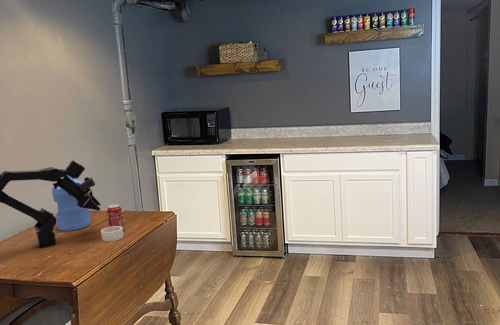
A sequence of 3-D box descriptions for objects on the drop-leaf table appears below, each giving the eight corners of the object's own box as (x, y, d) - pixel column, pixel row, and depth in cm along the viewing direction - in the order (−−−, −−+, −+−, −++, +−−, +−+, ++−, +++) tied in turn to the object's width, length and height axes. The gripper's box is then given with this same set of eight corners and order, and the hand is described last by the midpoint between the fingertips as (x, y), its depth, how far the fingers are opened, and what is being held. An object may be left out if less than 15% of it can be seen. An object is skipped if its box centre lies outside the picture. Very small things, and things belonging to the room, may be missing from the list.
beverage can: (118, 227, 227) (115, 203, 224) (126, 229, 223) (123, 204, 220) (107, 231, 222) (103, 206, 220) (115, 233, 218) (111, 208, 216)
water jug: (96, 221, 241) (89, 166, 236) (80, 231, 226) (72, 173, 221) (68, 221, 244) (60, 167, 239) (50, 231, 228) (42, 174, 224)
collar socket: (106, 243, 206) (104, 234, 205) (99, 238, 213) (98, 229, 213) (126, 237, 211) (125, 229, 210) (119, 233, 218) (118, 224, 218)
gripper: (81, 176, 205) (111, 198, 210) (83, 169, 223) (110, 189, 228) (64, 197, 204) (95, 218, 209) (67, 188, 222) (95, 207, 227)
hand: (99, 207), depth 218 cm, fingers open, 9 cm apart
